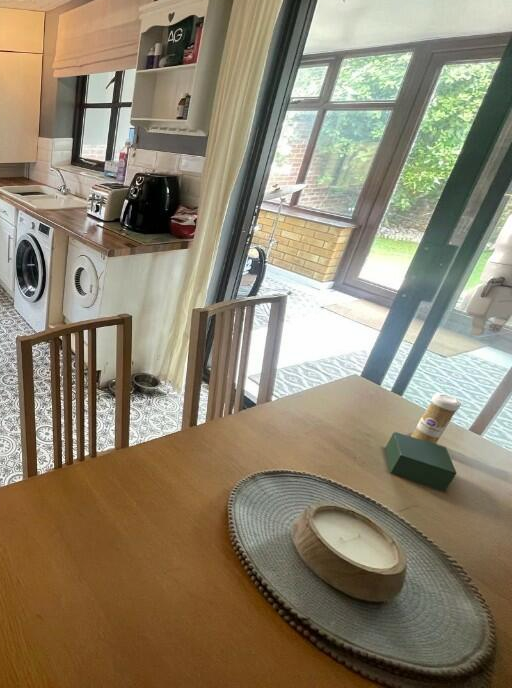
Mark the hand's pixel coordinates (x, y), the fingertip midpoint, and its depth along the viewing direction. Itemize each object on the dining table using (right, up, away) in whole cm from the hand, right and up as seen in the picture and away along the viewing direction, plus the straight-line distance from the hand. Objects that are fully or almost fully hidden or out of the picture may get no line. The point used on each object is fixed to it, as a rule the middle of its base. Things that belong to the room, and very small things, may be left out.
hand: (484, 332), depth 99 cm
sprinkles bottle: (-11, -28, +4) cm, 30 cm away
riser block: (-22, -31, -4) cm, 38 cm away
